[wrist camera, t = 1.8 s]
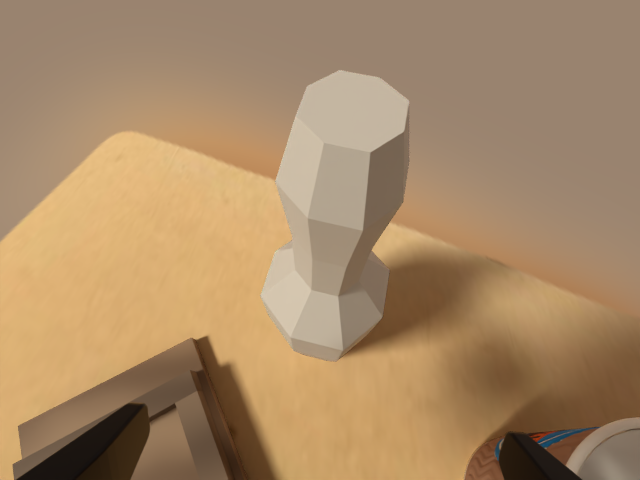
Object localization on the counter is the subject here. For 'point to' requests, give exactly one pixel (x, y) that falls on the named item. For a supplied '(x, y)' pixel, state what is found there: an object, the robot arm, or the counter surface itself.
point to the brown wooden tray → (164, 416)
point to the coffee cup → (575, 452)
